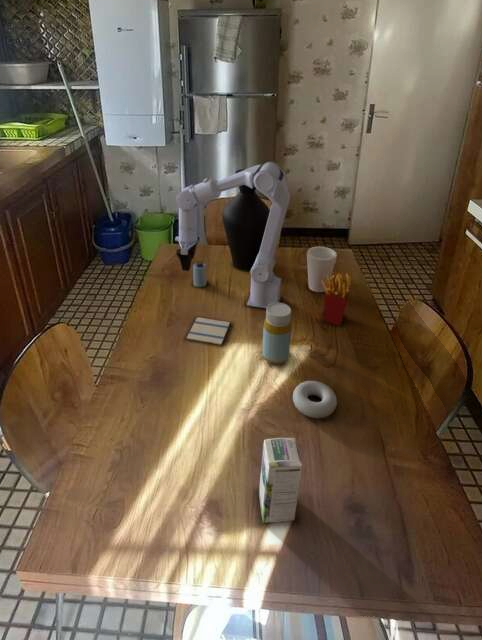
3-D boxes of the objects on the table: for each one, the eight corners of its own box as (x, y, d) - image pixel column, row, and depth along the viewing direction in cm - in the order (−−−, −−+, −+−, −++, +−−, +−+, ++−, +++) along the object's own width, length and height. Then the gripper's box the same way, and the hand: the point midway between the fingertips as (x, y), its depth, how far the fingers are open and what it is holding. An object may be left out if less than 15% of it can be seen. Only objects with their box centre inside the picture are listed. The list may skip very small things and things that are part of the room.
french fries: (343, 328, 126) (350, 284, 120) (315, 321, 129) (320, 278, 123) (347, 312, 134) (354, 269, 127) (320, 306, 136) (326, 264, 130)
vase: (224, 252, 168) (225, 164, 153) (268, 255, 167) (274, 166, 152) (218, 274, 153) (219, 179, 138) (267, 278, 152) (273, 181, 136)
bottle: (287, 367, 111) (291, 319, 105) (260, 363, 113) (263, 315, 106) (289, 349, 117) (293, 303, 111) (263, 346, 119) (266, 300, 112)
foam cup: (299, 289, 145) (302, 254, 139) (309, 277, 152) (313, 244, 147) (326, 297, 141) (331, 262, 135) (336, 285, 148) (340, 251, 142)
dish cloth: (229, 323, 128) (229, 322, 128) (221, 344, 119) (221, 343, 119) (197, 318, 130) (197, 317, 130) (186, 339, 121) (186, 337, 121)
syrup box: (258, 492, 81) (261, 438, 75) (289, 490, 81) (295, 436, 75) (262, 524, 76) (267, 468, 70) (296, 521, 76) (303, 465, 70)
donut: (333, 427, 95) (338, 394, 103) (334, 416, 93) (340, 383, 102) (288, 415, 98) (296, 383, 106) (289, 403, 96) (297, 373, 105)
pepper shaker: (208, 281, 149) (207, 260, 145) (204, 288, 145) (204, 266, 142) (195, 279, 150) (195, 258, 146) (191, 286, 146) (191, 264, 142)
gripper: (179, 215, 141) (179, 252, 147) (170, 234, 128) (171, 274, 134) (201, 217, 140) (200, 254, 146) (194, 236, 127) (194, 276, 133)
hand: (188, 264), depth 140 cm, fingers open, 7 cm apart
